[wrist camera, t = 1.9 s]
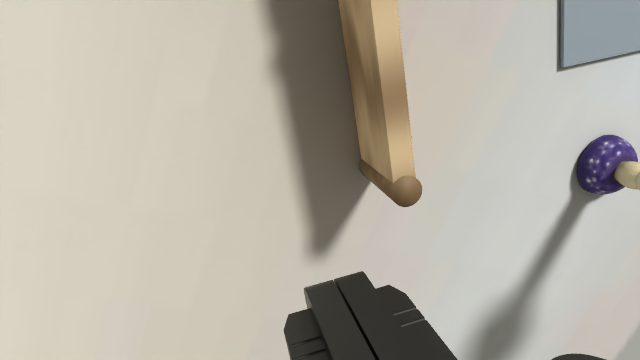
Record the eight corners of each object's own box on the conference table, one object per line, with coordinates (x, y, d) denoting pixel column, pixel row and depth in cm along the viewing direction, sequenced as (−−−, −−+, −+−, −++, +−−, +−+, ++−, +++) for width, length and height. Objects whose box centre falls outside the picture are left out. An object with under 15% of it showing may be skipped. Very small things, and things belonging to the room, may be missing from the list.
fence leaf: (326, -51, 24) (358, -73, 19) (356, -56, 24) (394, -78, 19) (361, 179, 28) (394, 210, 23) (385, 173, 28) (423, 202, 24)
